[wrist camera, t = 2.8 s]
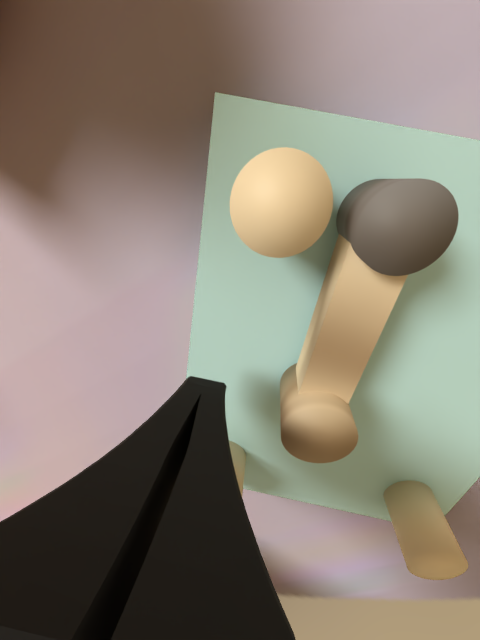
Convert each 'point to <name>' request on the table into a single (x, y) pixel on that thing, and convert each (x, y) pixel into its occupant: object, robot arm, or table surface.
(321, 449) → the swing leg
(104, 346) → the table surface
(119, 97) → the table surface
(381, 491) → the green activity board
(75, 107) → the table surface
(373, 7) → the table surface
